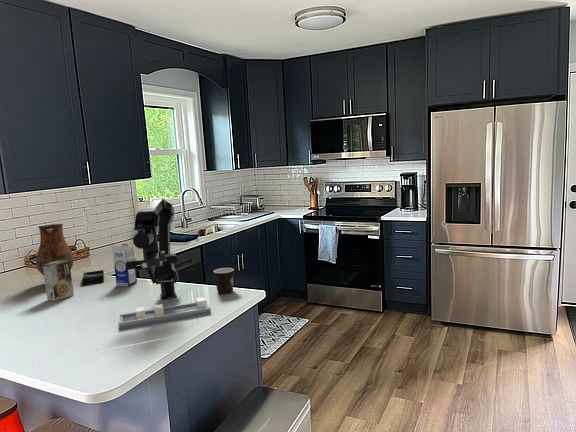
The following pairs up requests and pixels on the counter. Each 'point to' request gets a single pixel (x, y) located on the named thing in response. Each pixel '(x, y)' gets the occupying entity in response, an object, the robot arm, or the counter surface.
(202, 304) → the cream block
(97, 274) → the battery charger
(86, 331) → the counter surface
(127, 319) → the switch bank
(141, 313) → the beige block
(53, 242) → the pitcher
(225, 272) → the coffee mug
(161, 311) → the off-white rectangular block
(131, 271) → the milk carton
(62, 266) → the coffee box
